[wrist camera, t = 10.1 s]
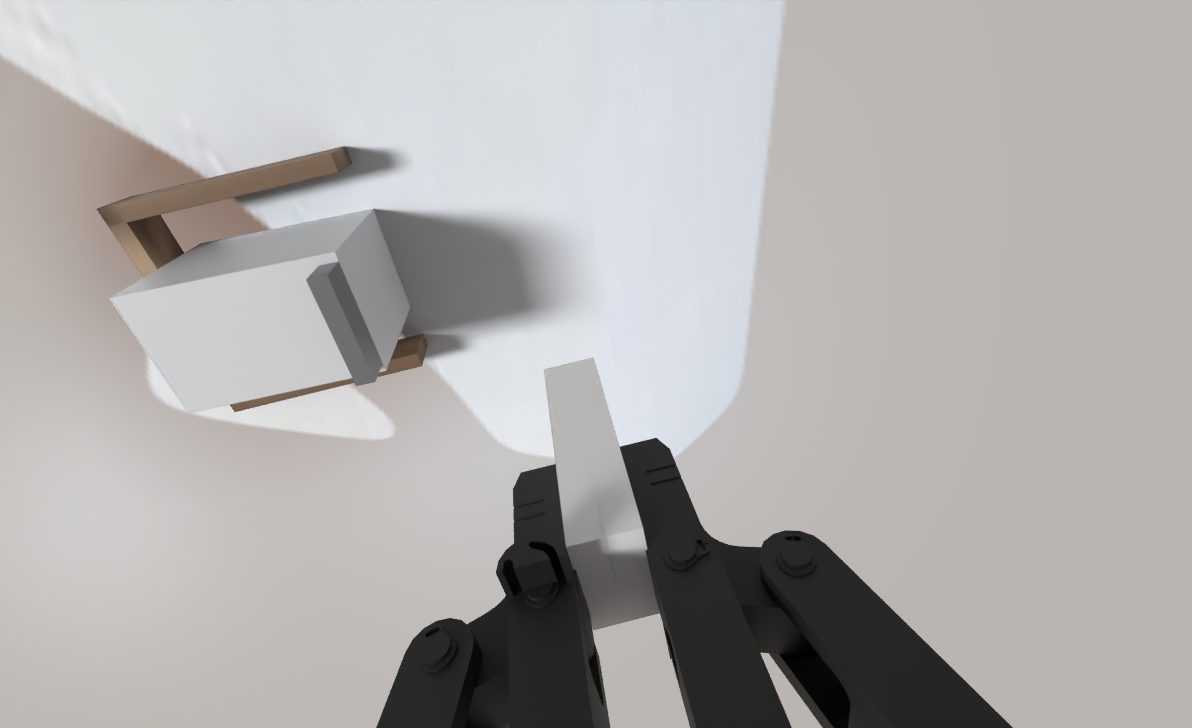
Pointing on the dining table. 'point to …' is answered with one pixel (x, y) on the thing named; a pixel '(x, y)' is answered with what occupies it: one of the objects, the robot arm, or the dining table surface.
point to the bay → (154, 241)
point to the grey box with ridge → (271, 311)
